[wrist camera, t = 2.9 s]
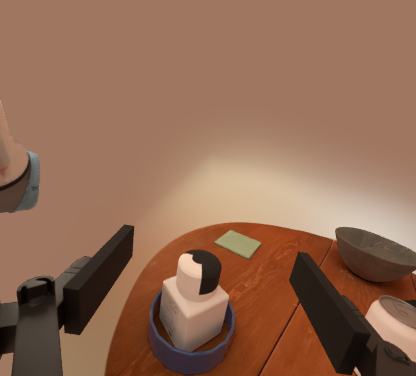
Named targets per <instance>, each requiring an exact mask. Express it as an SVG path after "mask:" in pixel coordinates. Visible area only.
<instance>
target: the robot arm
mask: <svg viewBox="0 0 416 376" xmlns="http://www.w3.org/2000/svg"><path fill="white" fill-rule="evenodd" d="M39 181H40V164H39V157H38V155H37V154H36V153H33V152H29V151H26V150H25V149H24V147H23V146H22V145H21V144H20V143H19V142H17V141H16V140H15V139H13V138H12V137H11V136H10V132H9V129H8V125H7V121H6V117H5V113H4V110H3V106H2V102H1V98H0V213H2V212H9V213H13V212H16V211H22V210H29V209H32V208H34V207H35V206H36V204H37V201H38V195H39V188H38V187H39ZM133 236H134V226H131V225H124V226H123V227H122V228H121V229H120V230H119V231H118V232H117V233H116V234H115V235H114V236H113V237H112V238H111V239H110V240H109V241H108V242H107V243H106V244H105V245H104V246H103V247H102V248H101V249H100V250H99V251H98V252H97V253H96V254H95V255H94V256H93V257H86V256H84V257H82V258H80V259H79V260H77V261H75V262H74V263H73V264H72V265H71V266H70V268H68V269H67V270H66V271H65V272H64V273H62V274H61V275H60V276H59V277H58V278H57V279H56V280H54V278H52V277H50V276H39V277H35V278H32V279H30V280H27V281H26V282H24V283H23V284H22V285H20V286H19V287H18V290H17V299H18V302H12V303H4V304H1V303H0V359H1V357H2V354H7V353H12V352H14V355H13V365H12V375H11V376H63V371H62V360H61V348H60V338H59V330H60V329H61V328H62V326H63V325H64V330H65V333H69V334H76V335H80V334H81V333H82V331H83V330H84V328H85V327H86V325H87V324H88V322H89V321H90V319H91V318H92V316H93V315H94V313H95V311H96V310H97V309H98V307H99V306H100V304H101V303H102V301H103V300H104V298H105V296H106V295H107V294H108V292H109V291H110V289H111V288H112V286H113V285H114V283H115V281H116V280H117V278H118V277H119V275H120V274H121V272H122V271H123V269H124V268H125V266H126V265H127V263H128V262H129V260H130V259H131V257H132V252H133ZM289 281H290V283H291V285H292V287H293V289H294V291H295V293H296V295H297V297H298V299H299V301H300V303H301V305H302V307H303V309H304V311H305V312H306V314H307V316H308V318H309V320H310V322H311V324H312V326H313V328H314V330H315V332H316V334H317V336H318V338H319V340H320V342H321V344H322V346H323V348H324V350H325V351H326V353H327V355H328V357H329V359H330V361H331V363H332V365H333V367H334V369H335V371H336V373H339V374H346V375H352V373H353V371H354V369H355V367H356V368H357V369H358V371H359V373H360V374H361V376H416V362H414V361H411V359H410V358H409V357H408V355H407V354H406V353H405V352H403V351H402V350H401V349H400V348H399V347H397V346H396V345H394V344H392V343H390V342H388V341H385V340H383V339H382V337H381V336H380V335H379V334H378V332H377V331H376V330H375V329H374V328H373V326H372V325H371V324H370V323H369V322H368V320H367V319H366V318H364V315H363V314H362V313H361V312H359V309H358V308H357V307H356V306H355V305H354V303H353V302H352V301H350V300H349V299H348V298H347V297H346V296H344V295H340V294H339V292H338V291H337V290H336V289H335V287H334V286H333V285H332V283H331V282H330V281H329V280H328V278H327V277H326V276H325V275H324V273H323V272H322V271H321V269H320V268H319V267H318V266H317V264H316V263H315V262H314V261H313V259H312V258H311V257H310V255H309V254H308V253H303V252H298V254H297V257H296V261H295V264H294V267H293V270H292V273H291V276H290V279H289Z"/></svg>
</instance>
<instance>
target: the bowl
mask: <svg viewBox="0 0 416 376" xmlns="http://www.w3.org/2000/svg"><path fill="white" fill-rule="evenodd" d="M335 233H336V238H337V245H338V250H339V253H340V256H341V258H342V260H343V261H344V263H345V264H346V266H347V267H348V268H349V269H350V270H351V271H352V272H353V273H354V274H356V275H357V276H359V277H361V278H363V279H365V280H368V281H373V282H389V281H394V280H397V279H400V278H402V277H404V276H406V275H408V274H410V273H412V272H413V271H415V270H416V253H415V252H414V251H412V250H410V249H409V248H408V249H407V247H404V246H402V245H400V244H398V243H396V242H394V241H391V240H389V239H386V238H384V237H381V236H379V235H377V234H374V233H371V232H368V231H365V230H361V229H356V228H350V227H339V228H337V229H336V230H335Z"/></svg>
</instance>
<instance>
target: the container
mask: <svg viewBox="0 0 416 376" xmlns="http://www.w3.org/2000/svg"><path fill="white" fill-rule="evenodd" d="M221 268H222V266H221V263H220V261H219V259H218V258H217V257H216V256H215V255H213V254H212V253H210V252H207V251H204V250H190V251H187V252H185V253H184V254H183V255H182V256H181V257H180V258H179V262H178V269H177V276H175V277H172V278H169V279H166V280H164V282H163V289H162V297H161V305H160V314H159V318H160V320H161V322H162V324H163V325H164V327H165V329H166V331H167V333H168V335H169V337H170V339H171V341H172V343H173V345H174V346H175V348H178V349H181V350H184V351H188V352H193V351H194V350H196V349H197V348H199V347H200V346H202V345H203V344H205V343H206V342H208V341H209V340H211V339H212V338H214V337H215V336H217V335H219V334H220V333H221V330H222V326H223V321H224V317H225V313H226V308H227V304H228V300H229V295H228V294H227V293H226V292H225V291H224V290H223V289H222V288H221V287H220V286H219V285H218V283H219V278H220V273H221Z"/></svg>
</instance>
